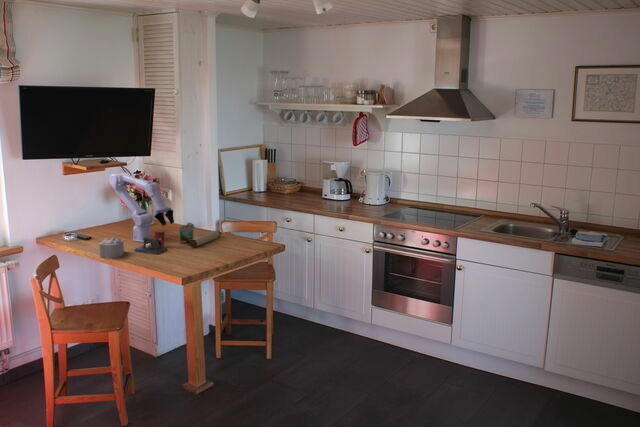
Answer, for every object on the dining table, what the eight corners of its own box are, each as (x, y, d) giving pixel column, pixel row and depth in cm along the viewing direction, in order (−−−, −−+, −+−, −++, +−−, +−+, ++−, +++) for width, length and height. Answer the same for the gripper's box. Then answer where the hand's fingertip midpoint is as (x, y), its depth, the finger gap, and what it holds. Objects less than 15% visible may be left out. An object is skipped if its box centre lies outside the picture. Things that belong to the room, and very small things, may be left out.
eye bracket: (145, 246, 337) (145, 234, 335) (167, 249, 332) (166, 237, 330) (134, 251, 327) (134, 239, 326) (156, 254, 323) (156, 242, 321)
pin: (158, 244, 339) (158, 230, 337) (164, 244, 338) (164, 231, 336) (144, 250, 327) (143, 235, 325) (150, 250, 326) (149, 236, 324)
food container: (189, 245, 342) (189, 228, 340) (179, 244, 343) (179, 227, 341) (198, 239, 354) (197, 223, 352) (188, 238, 355) (187, 222, 353)
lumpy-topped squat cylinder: (97, 256, 317) (96, 240, 315) (113, 250, 329) (112, 234, 327) (112, 258, 314) (112, 243, 312) (129, 252, 326) (128, 237, 324)
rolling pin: (192, 250, 333) (192, 241, 332) (184, 248, 335) (184, 240, 334) (225, 237, 362) (224, 229, 361) (217, 235, 364) (217, 228, 363)
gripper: (156, 201, 331) (166, 223, 330) (171, 198, 344) (181, 219, 344) (146, 206, 333) (157, 228, 333) (162, 203, 347) (172, 224, 346)
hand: (168, 224), depth 339 cm, fingers open, 7 cm apart
